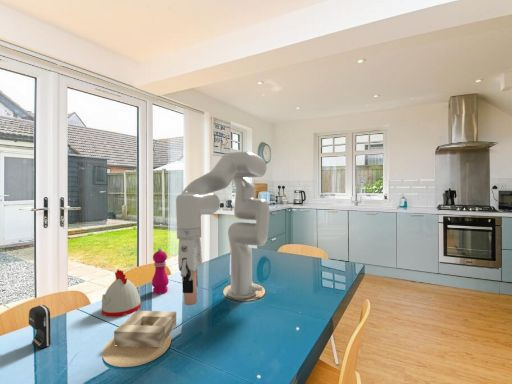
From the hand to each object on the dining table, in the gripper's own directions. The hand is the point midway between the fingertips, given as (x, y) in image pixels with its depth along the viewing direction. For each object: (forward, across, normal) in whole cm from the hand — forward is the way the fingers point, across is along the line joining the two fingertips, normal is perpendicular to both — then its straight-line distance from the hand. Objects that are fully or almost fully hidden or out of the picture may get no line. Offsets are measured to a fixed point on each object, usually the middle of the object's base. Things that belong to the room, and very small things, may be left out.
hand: (190, 289), depth 90 cm
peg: (+4, 0, 0) cm, 4 cm away
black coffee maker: (+15, -9, +44) cm, 47 cm away
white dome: (+15, +17, +33) cm, 40 cm away
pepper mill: (+16, +35, +25) cm, 46 cm away
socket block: (+15, -1, +14) cm, 21 cm away
